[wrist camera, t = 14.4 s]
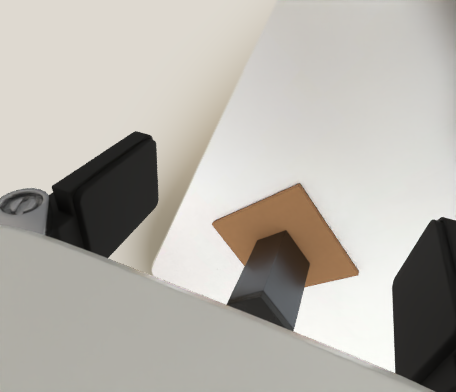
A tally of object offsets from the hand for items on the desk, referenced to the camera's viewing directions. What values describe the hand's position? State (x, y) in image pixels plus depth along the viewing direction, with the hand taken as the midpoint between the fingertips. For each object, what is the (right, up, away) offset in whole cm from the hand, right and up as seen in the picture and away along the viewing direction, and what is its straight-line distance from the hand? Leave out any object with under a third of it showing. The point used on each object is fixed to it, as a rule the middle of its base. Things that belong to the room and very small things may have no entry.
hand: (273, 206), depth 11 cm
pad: (+5, -5, +26) cm, 26 cm away
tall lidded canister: (+5, -6, +25) cm, 26 cm away
